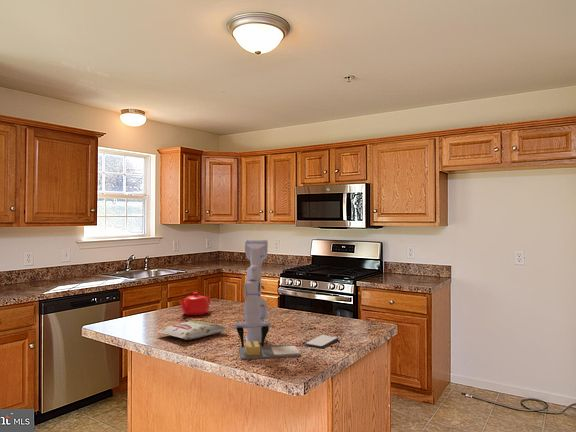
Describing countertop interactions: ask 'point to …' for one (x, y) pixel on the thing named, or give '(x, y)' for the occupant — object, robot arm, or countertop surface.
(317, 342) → the phone case
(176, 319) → the countertop surface
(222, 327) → the frozen beans
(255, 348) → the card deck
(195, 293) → the teapot
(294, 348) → the mat
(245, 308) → the robot arm
